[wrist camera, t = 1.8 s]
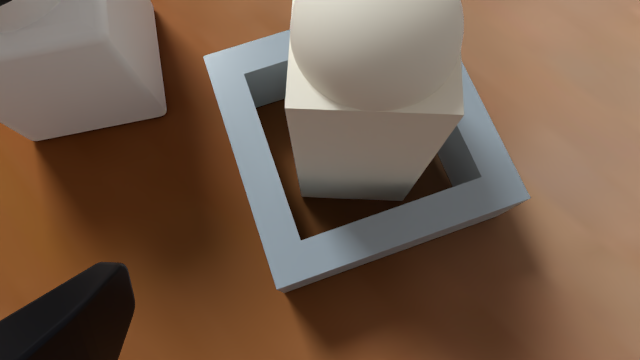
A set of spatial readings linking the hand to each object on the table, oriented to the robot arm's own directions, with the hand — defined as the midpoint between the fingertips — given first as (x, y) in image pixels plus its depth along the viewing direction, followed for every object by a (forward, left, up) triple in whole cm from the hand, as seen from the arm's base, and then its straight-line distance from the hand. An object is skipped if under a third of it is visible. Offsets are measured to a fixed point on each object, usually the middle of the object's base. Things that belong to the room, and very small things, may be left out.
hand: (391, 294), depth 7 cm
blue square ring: (+3, +7, -14) cm, 15 cm away
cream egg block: (+3, +7, -14) cm, 16 cm away
